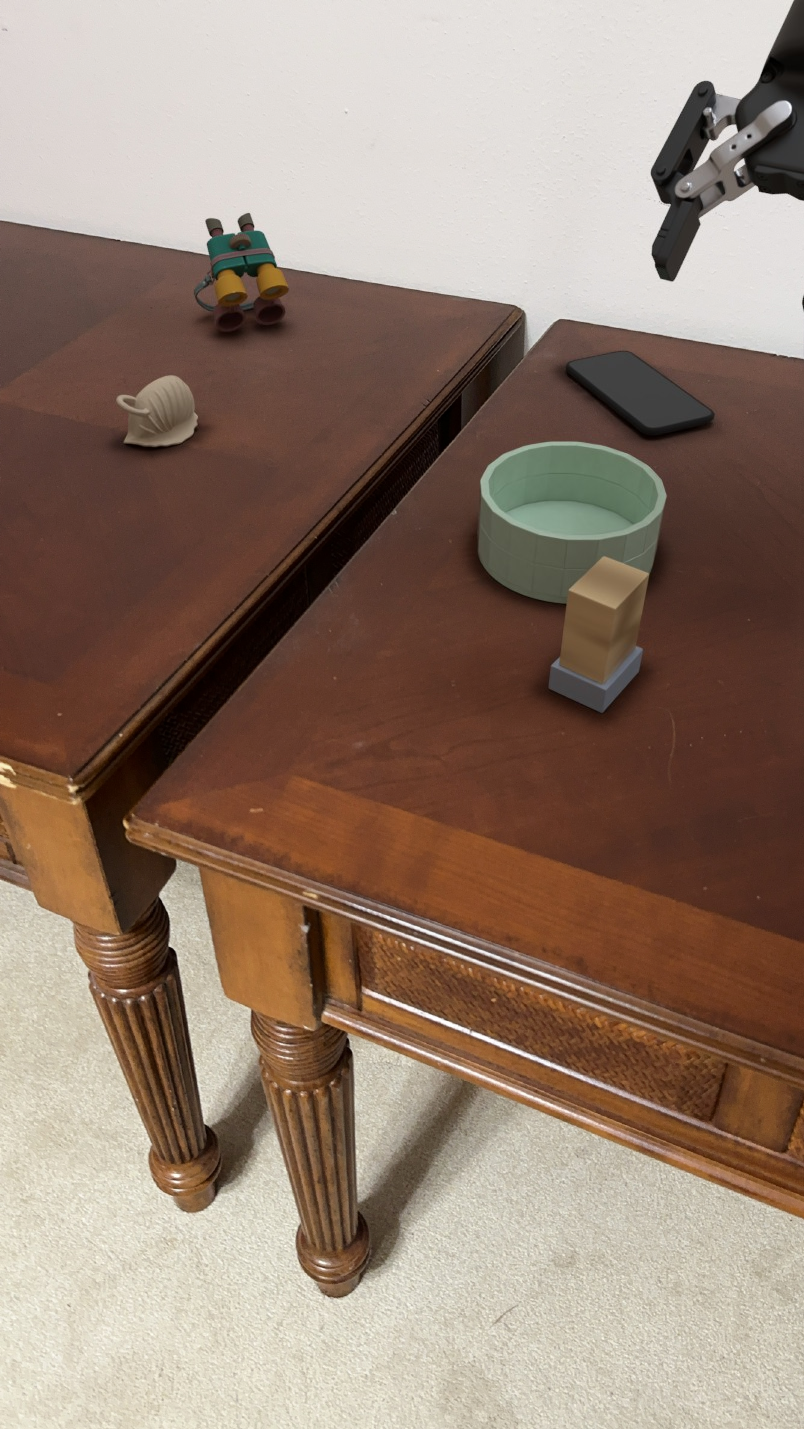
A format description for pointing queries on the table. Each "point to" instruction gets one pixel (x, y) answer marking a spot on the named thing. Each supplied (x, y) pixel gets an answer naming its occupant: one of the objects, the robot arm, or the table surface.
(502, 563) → the bowl
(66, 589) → the table surface
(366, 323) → the table surface
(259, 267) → the binoculars
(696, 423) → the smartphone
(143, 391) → the decorative ornament
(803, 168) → the robot arm
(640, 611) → the eraser
